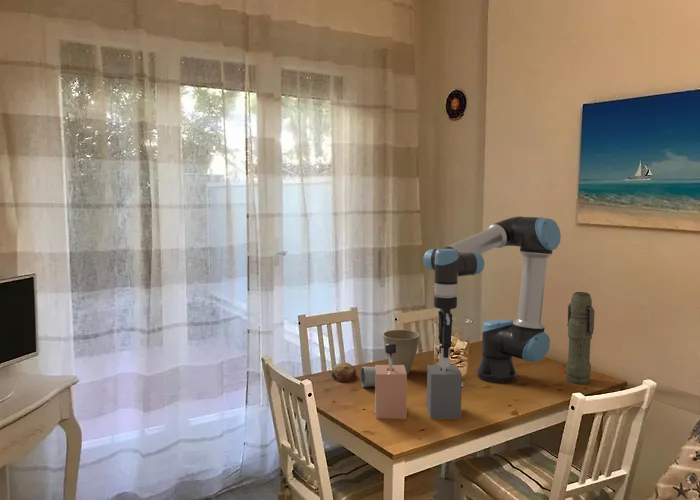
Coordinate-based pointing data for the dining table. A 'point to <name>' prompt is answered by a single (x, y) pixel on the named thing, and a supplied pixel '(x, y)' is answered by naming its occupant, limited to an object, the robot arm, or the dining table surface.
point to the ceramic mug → (367, 376)
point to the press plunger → (390, 352)
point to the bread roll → (343, 372)
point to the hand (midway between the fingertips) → (444, 364)
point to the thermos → (579, 338)
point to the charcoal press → (444, 392)
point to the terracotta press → (390, 391)
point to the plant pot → (402, 347)
